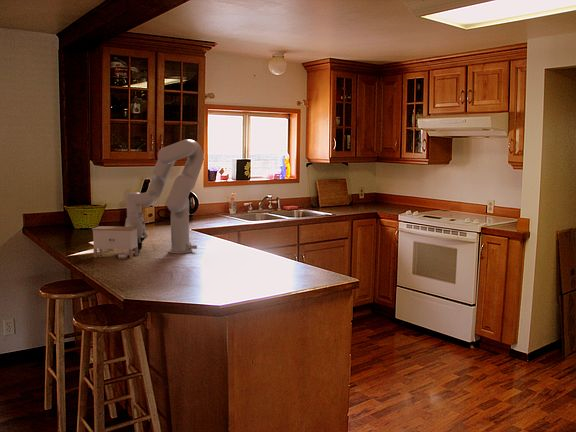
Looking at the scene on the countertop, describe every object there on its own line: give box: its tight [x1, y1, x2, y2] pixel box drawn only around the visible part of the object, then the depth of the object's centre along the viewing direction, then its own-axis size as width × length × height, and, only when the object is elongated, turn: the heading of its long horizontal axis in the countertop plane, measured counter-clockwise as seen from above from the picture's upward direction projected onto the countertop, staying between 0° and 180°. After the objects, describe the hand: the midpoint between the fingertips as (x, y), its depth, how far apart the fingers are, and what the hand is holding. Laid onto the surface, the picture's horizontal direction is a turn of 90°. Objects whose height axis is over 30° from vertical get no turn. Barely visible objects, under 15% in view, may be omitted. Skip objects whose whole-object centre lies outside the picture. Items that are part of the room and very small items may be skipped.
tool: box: [122, 237, 141, 257], centre depth 300 cm, size 4×17×7 cm, turn 173°
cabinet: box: [91, 225, 139, 259], centre depth 293 cm, size 21×10×15 cm, turn 84°
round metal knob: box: [117, 252, 128, 260], centre depth 290 cm, size 4×4×2 cm
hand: (135, 249), depth 307 cm, fingers closed on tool, 4 cm apart
